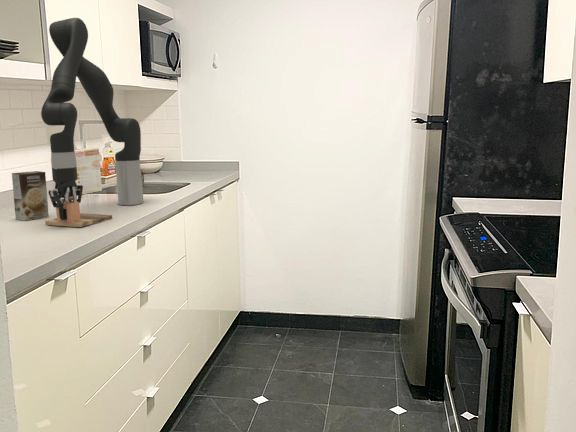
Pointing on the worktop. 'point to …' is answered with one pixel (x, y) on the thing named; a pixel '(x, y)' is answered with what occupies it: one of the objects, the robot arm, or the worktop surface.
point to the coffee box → (30, 195)
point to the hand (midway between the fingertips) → (68, 218)
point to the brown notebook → (95, 217)
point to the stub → (70, 217)
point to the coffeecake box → (88, 169)
